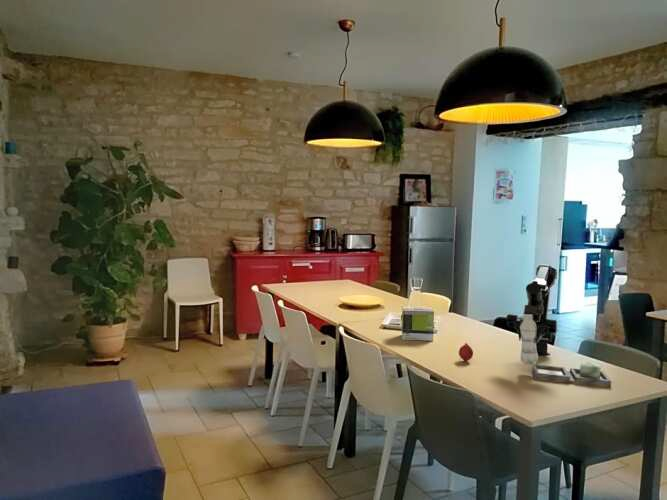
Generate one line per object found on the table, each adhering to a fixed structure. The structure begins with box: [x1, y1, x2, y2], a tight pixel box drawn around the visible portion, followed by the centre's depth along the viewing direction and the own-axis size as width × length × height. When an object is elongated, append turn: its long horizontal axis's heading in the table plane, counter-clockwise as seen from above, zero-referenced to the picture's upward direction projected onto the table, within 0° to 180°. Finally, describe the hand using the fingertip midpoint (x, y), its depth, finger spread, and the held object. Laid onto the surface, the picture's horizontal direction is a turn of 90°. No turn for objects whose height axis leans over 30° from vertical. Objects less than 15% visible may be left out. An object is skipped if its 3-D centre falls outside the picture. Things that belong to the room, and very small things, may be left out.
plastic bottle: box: [520, 312, 539, 365], centre depth 202 cm, size 6×7×20 cm
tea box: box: [401, 306, 435, 342], centre depth 253 cm, size 15×10×15 cm, turn 84°
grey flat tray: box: [531, 361, 612, 389], centre depth 199 cm, size 26×12×6 cm, turn 75°
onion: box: [458, 342, 474, 362], centre depth 217 cm, size 6×6×8 cm
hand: (528, 341), depth 202 cm, fingers closed on plastic bottle, 6 cm apart
